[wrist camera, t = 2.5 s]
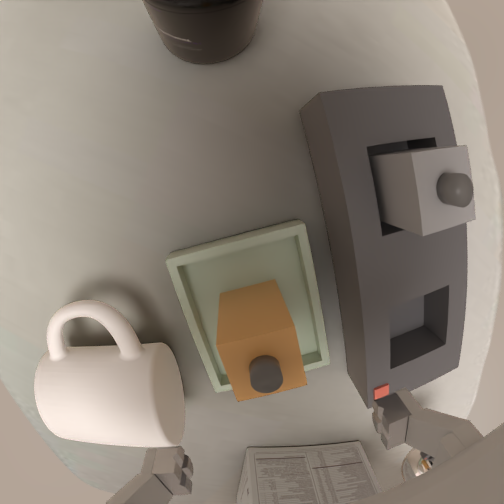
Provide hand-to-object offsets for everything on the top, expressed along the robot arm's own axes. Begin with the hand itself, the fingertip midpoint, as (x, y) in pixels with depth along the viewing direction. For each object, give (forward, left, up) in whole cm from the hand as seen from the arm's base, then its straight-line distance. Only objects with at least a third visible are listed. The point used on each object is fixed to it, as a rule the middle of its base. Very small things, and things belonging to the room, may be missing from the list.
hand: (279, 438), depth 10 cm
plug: (0, 0, -12) cm, 12 cm away
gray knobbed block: (-7, +11, -11) cm, 17 cm away
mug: (+1, -12, -13) cm, 17 cm away
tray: (0, 0, -12) cm, 12 cm away
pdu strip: (-2, +11, -12) cm, 17 cm away
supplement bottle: (-21, +2, -13) cm, 25 cm away
